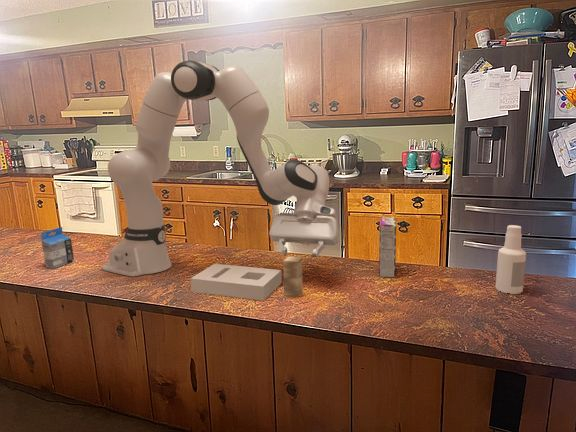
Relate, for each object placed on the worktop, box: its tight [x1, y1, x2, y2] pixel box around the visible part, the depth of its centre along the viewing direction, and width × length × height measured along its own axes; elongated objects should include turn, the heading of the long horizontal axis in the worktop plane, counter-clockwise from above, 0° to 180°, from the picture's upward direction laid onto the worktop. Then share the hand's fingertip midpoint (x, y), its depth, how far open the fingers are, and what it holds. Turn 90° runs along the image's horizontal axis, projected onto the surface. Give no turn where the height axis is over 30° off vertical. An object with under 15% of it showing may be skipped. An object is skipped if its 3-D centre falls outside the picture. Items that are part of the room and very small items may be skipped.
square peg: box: [282, 256, 303, 298], centre depth 123 cm, size 4×4×10 cm
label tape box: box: [40, 226, 75, 270], centre depth 153 cm, size 9×4×12 cm, turn 160°
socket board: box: [190, 263, 283, 302], centre depth 129 cm, size 22×14×4 cm, turn 71°
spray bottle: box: [494, 224, 527, 295], centre depth 122 cm, size 7×7×18 cm
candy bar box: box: [378, 216, 397, 278], centre depth 139 cm, size 11×5×16 cm, turn 168°
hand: (298, 255), depth 127 cm, fingers open, 8 cm apart
